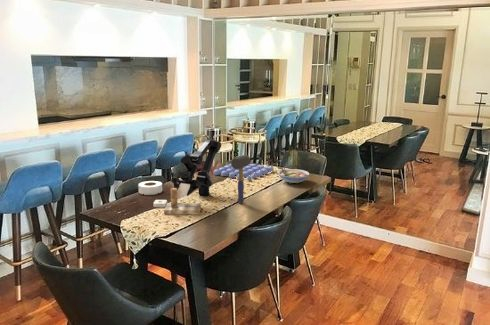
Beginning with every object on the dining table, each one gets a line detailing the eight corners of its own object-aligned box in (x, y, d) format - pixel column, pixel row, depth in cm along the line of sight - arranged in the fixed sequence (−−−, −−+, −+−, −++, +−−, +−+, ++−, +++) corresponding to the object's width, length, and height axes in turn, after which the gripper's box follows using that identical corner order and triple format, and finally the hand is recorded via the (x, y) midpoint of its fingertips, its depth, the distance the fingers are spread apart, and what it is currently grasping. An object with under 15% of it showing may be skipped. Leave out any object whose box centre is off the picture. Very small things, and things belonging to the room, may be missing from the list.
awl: (177, 208, 237) (176, 187, 234) (178, 210, 233) (178, 189, 230) (170, 209, 236) (169, 188, 233) (171, 211, 232) (171, 190, 229)
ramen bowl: (311, 187, 282) (311, 176, 280) (278, 187, 282) (279, 176, 280) (306, 178, 306) (307, 167, 304) (276, 177, 306) (277, 167, 305)
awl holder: (167, 203, 247) (167, 199, 246) (165, 207, 240) (164, 203, 239) (155, 203, 246) (155, 199, 246) (153, 207, 240) (153, 203, 239)
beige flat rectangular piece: (201, 207, 241) (200, 203, 240) (199, 214, 229) (198, 210, 228) (167, 207, 240) (167, 203, 240) (164, 214, 229) (163, 210, 228)
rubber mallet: (240, 206, 242) (240, 158, 235) (230, 204, 246) (229, 157, 239) (251, 201, 252) (251, 154, 245) (241, 199, 256) (241, 153, 249)
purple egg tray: (272, 172, 323) (272, 166, 322) (250, 182, 295) (250, 176, 294) (236, 166, 342) (236, 161, 340) (212, 175, 313) (212, 169, 312)
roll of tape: (152, 186, 282) (152, 179, 281) (167, 191, 272) (166, 183, 271) (133, 192, 270) (133, 184, 269) (148, 196, 260) (148, 188, 259)
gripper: (171, 164, 243) (161, 186, 236) (197, 167, 236) (188, 190, 228) (179, 173, 252) (169, 195, 245) (205, 176, 244) (195, 199, 237)
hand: (180, 194), depth 239 cm, fingers open, 9 cm apart
